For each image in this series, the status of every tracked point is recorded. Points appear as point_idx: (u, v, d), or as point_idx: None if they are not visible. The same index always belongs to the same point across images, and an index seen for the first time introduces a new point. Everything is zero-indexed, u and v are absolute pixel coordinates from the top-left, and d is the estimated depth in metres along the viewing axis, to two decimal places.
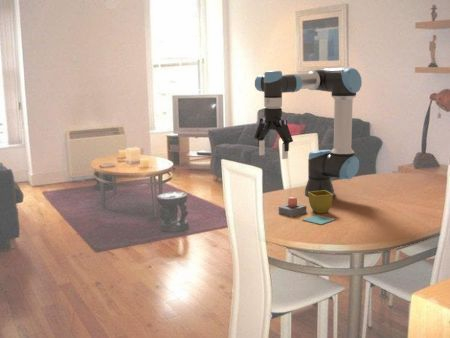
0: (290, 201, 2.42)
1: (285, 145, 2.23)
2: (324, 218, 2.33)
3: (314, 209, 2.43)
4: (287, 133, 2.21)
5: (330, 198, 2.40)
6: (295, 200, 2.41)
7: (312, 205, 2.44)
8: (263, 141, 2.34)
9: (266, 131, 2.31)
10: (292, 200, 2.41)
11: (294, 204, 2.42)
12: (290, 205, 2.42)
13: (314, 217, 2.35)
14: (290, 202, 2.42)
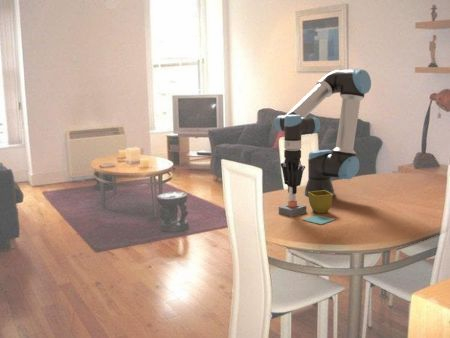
0: (290, 204, 2.42)
1: (293, 188, 2.40)
2: (324, 218, 2.33)
3: (314, 209, 2.43)
4: (299, 178, 2.37)
5: (330, 198, 2.40)
6: (295, 203, 2.42)
7: (312, 205, 2.44)
8: None
9: (291, 173, 2.41)
10: (292, 203, 2.41)
11: (294, 207, 2.42)
12: None
13: (314, 217, 2.35)
14: (290, 205, 2.42)
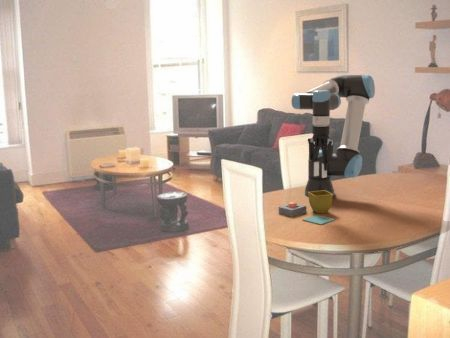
0: (290, 206, 2.42)
1: (325, 165, 2.38)
2: (324, 218, 2.33)
3: (314, 209, 2.43)
4: (330, 154, 2.35)
5: (330, 198, 2.40)
6: (295, 205, 2.42)
7: (312, 205, 2.44)
8: (318, 162, 2.42)
9: (317, 150, 2.40)
10: (292, 205, 2.42)
11: None
12: None
13: (314, 217, 2.35)
14: (290, 207, 2.42)
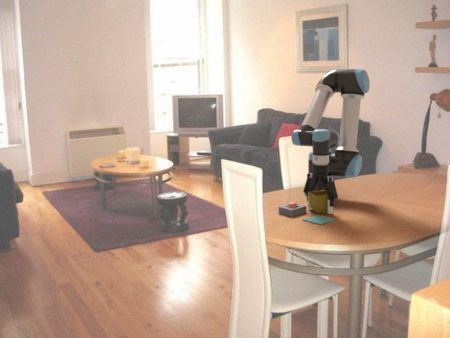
0: (290, 206, 2.42)
1: (330, 201, 2.38)
2: (324, 218, 2.33)
3: (314, 209, 2.43)
4: (333, 190, 2.36)
5: None
6: (295, 205, 2.42)
7: (312, 205, 2.44)
8: None
9: (314, 185, 2.45)
10: (292, 205, 2.42)
11: None
12: None
13: (314, 217, 2.35)
14: (290, 207, 2.42)
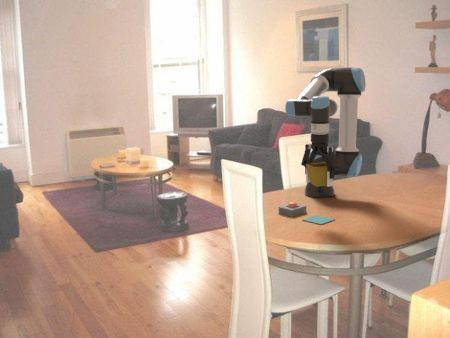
0: (290, 206, 2.42)
1: (330, 173, 2.22)
2: (324, 218, 2.33)
3: (313, 182, 2.27)
4: (333, 161, 2.20)
5: None
6: (295, 205, 2.42)
7: (311, 178, 2.28)
8: None
9: (313, 157, 2.29)
10: (292, 205, 2.42)
11: None
12: None
13: (314, 217, 2.35)
14: (290, 207, 2.42)
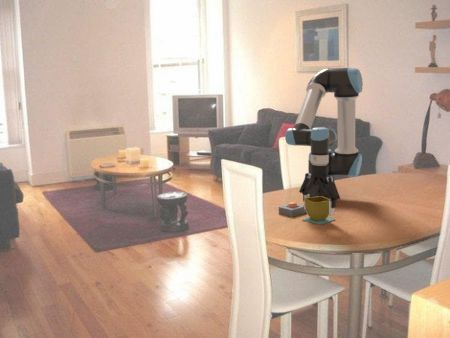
0: (290, 206, 2.42)
1: (332, 202, 2.24)
2: None
3: (312, 216, 2.30)
4: (334, 190, 2.22)
5: None
6: (295, 205, 2.42)
7: (309, 212, 2.31)
8: (308, 195, 2.35)
9: (312, 186, 2.32)
10: (292, 205, 2.42)
11: None
12: None
13: None
14: (290, 207, 2.42)
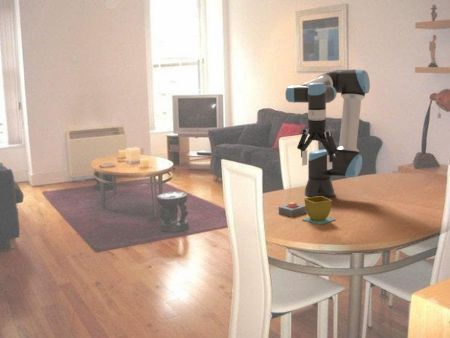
0: (290, 206, 2.42)
1: (330, 156, 2.27)
2: None
3: (312, 216, 2.30)
4: (332, 144, 2.25)
5: (329, 204, 2.28)
6: (295, 205, 2.42)
7: (309, 212, 2.31)
8: (306, 151, 2.38)
9: (309, 142, 2.35)
10: (292, 205, 2.42)
11: None
12: None
13: None
14: (290, 207, 2.42)
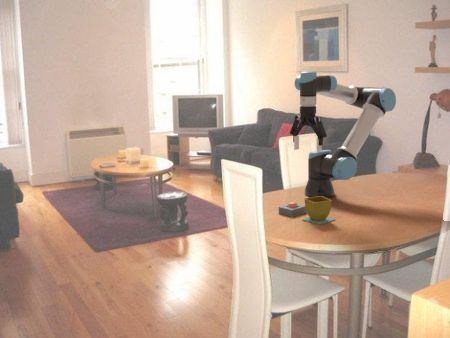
0: (290, 206, 2.42)
1: (319, 140, 2.43)
2: None
3: (312, 216, 2.30)
4: (321, 129, 2.41)
5: (329, 204, 2.28)
6: (295, 205, 2.42)
7: (309, 212, 2.31)
8: (298, 136, 2.54)
9: (301, 127, 2.51)
10: (292, 205, 2.42)
11: None
12: None
13: None
14: (290, 207, 2.42)
